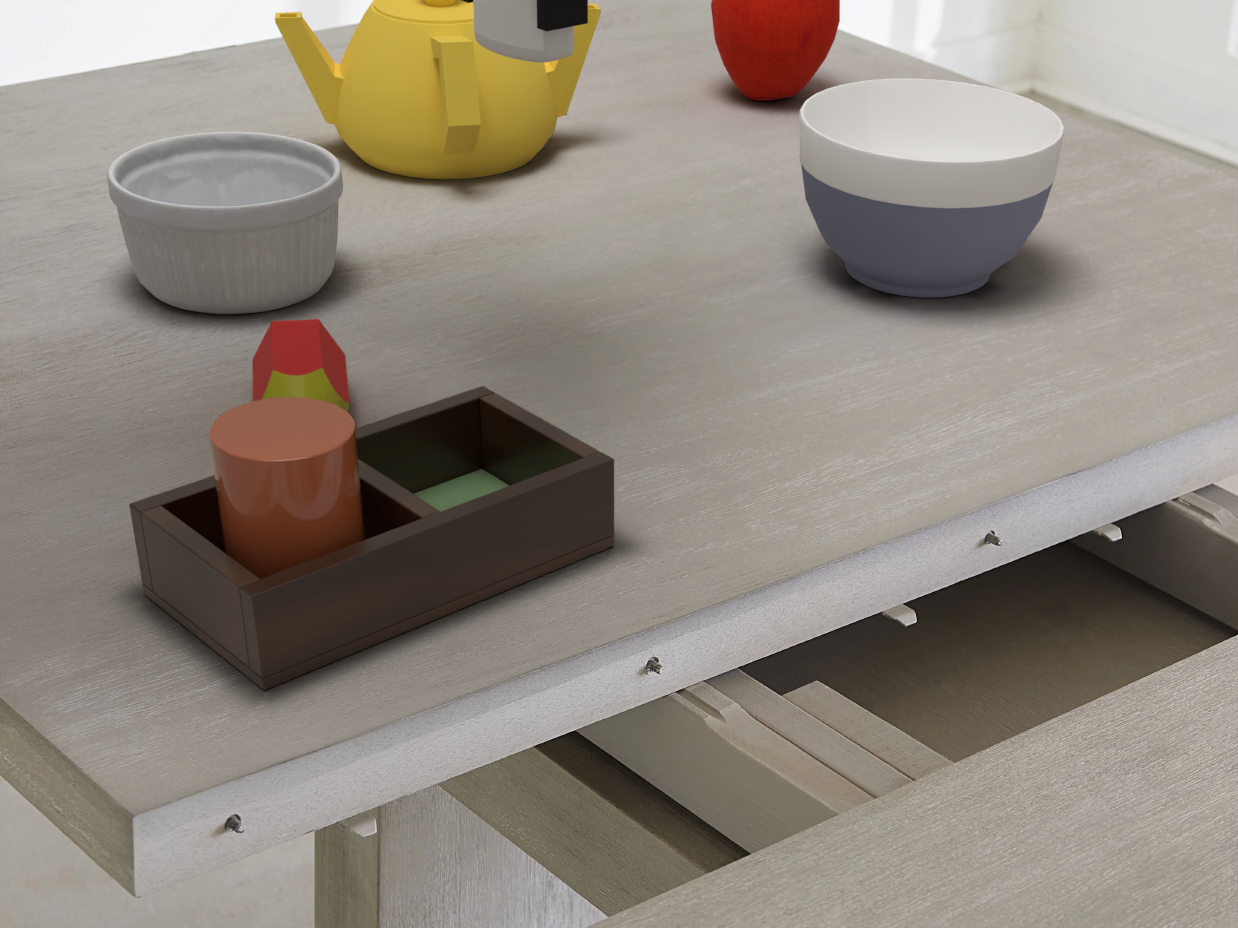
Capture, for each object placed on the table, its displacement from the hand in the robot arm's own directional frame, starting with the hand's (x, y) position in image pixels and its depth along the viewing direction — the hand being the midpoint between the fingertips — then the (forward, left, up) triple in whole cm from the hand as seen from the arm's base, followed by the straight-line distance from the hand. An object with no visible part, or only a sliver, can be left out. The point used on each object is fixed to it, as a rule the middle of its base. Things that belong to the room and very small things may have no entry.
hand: (522, 10), depth 98 cm
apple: (-25, +43, -19) cm, 53 cm away
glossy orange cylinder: (+16, -25, -18) cm, 35 cm away
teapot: (-30, +16, -18) cm, 38 cm away
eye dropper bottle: (0, 0, -2) cm, 2 cm away
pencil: (+3, -17, -19) cm, 25 cm away
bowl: (+6, +26, -19) cm, 32 cm away
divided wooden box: (+16, -21, -18) cm, 32 cm away
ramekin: (-18, -8, -19) cm, 27 cm away
